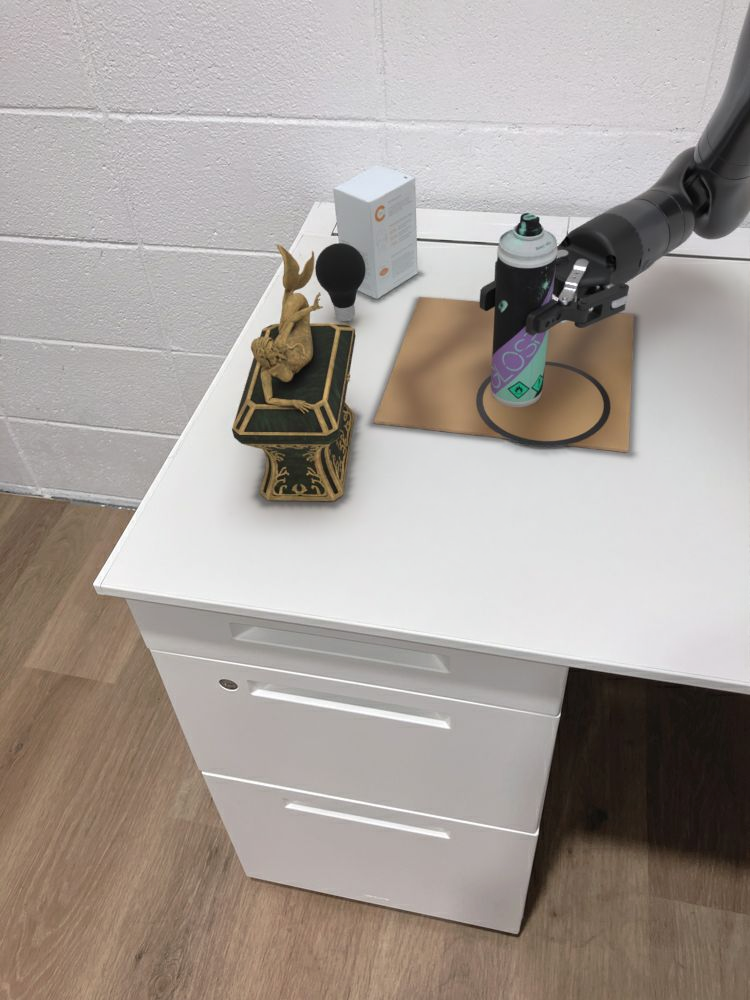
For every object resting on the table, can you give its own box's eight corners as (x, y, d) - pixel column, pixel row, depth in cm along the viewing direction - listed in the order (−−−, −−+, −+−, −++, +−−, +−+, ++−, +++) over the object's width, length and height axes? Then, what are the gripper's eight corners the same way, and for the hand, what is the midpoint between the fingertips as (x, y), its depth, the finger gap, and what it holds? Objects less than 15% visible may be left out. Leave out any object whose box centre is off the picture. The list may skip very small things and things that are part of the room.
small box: (383, 258, 108) (378, 162, 99) (419, 274, 105) (417, 176, 95) (341, 284, 104) (331, 186, 95) (376, 300, 101) (370, 201, 92)
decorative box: (349, 515, 76) (328, 343, 62) (250, 513, 77) (206, 343, 63) (367, 383, 90) (353, 217, 75) (282, 383, 90) (253, 219, 76)
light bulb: (347, 340, 95) (339, 265, 88) (312, 324, 98) (301, 249, 91) (379, 317, 98) (374, 243, 91) (344, 302, 101) (336, 228, 94)
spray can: (487, 404, 85) (495, 229, 71) (494, 372, 89) (503, 200, 74) (539, 410, 84) (558, 233, 69) (544, 377, 87) (563, 203, 73)
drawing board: (633, 316, 95) (634, 313, 95) (627, 459, 79) (628, 455, 78) (419, 299, 101) (419, 295, 100) (371, 429, 84) (371, 425, 84)
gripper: (564, 192, 85) (452, 252, 78) (681, 237, 78) (568, 309, 71) (557, 256, 91) (451, 317, 84) (666, 304, 83) (559, 377, 76)
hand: (505, 313), depth 77 cm, fingers closed on spray can, 5 cm apart
